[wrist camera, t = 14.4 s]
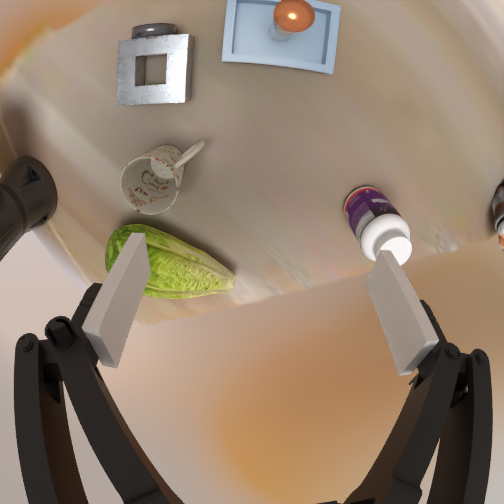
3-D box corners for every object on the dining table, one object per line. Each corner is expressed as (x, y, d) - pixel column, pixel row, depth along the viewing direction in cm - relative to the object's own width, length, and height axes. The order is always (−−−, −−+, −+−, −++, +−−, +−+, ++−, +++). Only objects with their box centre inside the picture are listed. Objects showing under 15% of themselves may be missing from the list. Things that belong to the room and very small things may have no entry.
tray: (223, 62, 33) (221, 61, 31) (229, -4, 27) (228, -9, 25) (327, 73, 34) (332, 74, 32) (334, 10, 28) (340, 6, 25)
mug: (133, 158, 42) (108, 182, 34) (192, 111, 38) (176, 123, 30) (164, 195, 46) (146, 225, 38) (224, 152, 42) (217, 175, 34)
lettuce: (220, 317, 56) (239, 315, 45) (103, 284, 50) (91, 273, 38) (232, 261, 60) (253, 245, 49) (120, 228, 53) (115, 203, 42)
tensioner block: (128, 102, 36) (110, 108, 31) (130, 32, 29) (112, 28, 24) (190, 99, 37) (180, 104, 31) (195, 25, 30) (185, 18, 24)
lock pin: (264, 42, 31) (271, 28, 20) (267, 17, 29) (276, -6, 18) (292, 45, 31) (313, 34, 21) (295, 21, 29) (317, 1, 18)
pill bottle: (391, 198, 46) (429, 243, 35) (365, 231, 50) (394, 282, 39) (359, 175, 44) (395, 218, 32) (333, 212, 48) (358, 263, 36)
